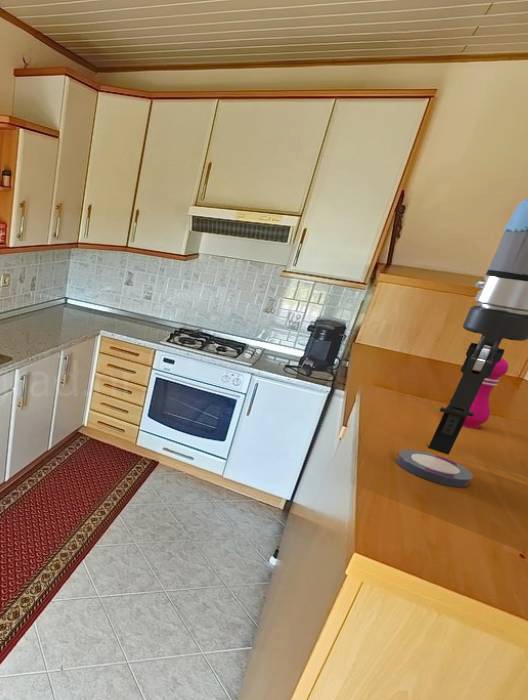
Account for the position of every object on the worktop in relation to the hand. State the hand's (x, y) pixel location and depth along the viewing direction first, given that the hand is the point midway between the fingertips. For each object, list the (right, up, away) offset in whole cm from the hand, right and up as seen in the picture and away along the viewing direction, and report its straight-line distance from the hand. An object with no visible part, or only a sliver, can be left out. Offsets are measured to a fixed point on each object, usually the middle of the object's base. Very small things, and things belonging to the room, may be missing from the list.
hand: (438, 450), depth 80 cm
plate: (+9, -5, +12) cm, 15 cm away
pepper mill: (+35, 0, +35) cm, 50 cm away
